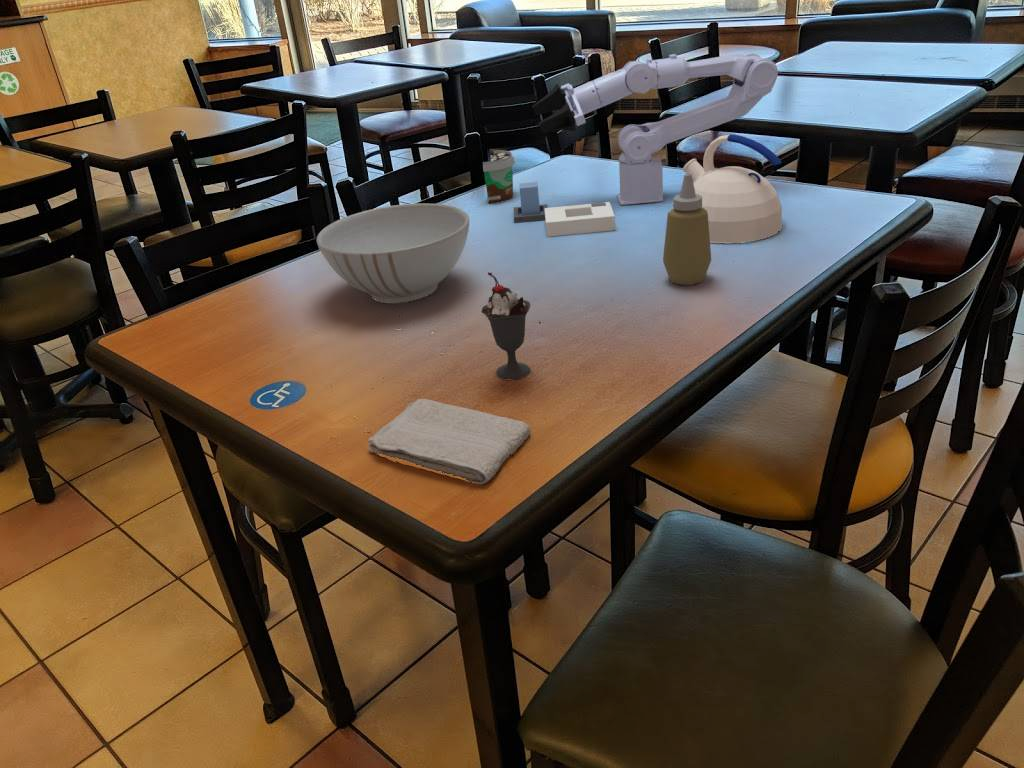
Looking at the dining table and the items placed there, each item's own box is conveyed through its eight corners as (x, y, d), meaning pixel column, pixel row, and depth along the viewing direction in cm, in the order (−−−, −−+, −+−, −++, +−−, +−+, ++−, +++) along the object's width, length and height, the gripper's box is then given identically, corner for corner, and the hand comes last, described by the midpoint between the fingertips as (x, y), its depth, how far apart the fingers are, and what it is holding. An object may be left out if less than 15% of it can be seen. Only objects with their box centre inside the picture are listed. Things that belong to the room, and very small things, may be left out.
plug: (539, 212, 176) (537, 181, 172) (540, 218, 172) (537, 186, 169) (522, 214, 176) (519, 183, 173) (522, 219, 173) (519, 188, 169)
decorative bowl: (356, 335, 128) (341, 266, 122) (314, 287, 149) (299, 225, 143) (502, 293, 137) (494, 226, 131) (442, 253, 159) (434, 194, 153)
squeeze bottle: (713, 271, 136) (716, 168, 128) (707, 289, 130) (710, 181, 121) (666, 269, 139) (666, 168, 130) (659, 287, 133) (658, 182, 124)
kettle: (711, 206, 168) (714, 119, 160) (802, 220, 155) (810, 127, 146) (654, 233, 157) (654, 141, 148) (747, 252, 143) (752, 152, 134)
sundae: (488, 364, 114) (475, 267, 107) (533, 358, 115) (524, 261, 107) (491, 386, 109) (478, 285, 101) (539, 379, 109) (529, 279, 101)
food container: (512, 204, 183) (508, 161, 178) (487, 205, 185) (482, 162, 180) (522, 189, 194) (518, 148, 189) (498, 190, 195) (493, 149, 190)
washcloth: (417, 411, 106) (413, 391, 104) (535, 436, 97) (533, 415, 96) (363, 459, 97) (358, 438, 95) (488, 491, 89) (485, 468, 87)
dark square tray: (547, 209, 177) (547, 204, 177) (548, 219, 171) (548, 214, 170) (514, 212, 178) (513, 207, 177) (514, 222, 171) (513, 217, 170)
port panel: (610, 215, 169) (609, 201, 167) (615, 230, 160) (614, 215, 159) (545, 221, 170) (544, 207, 168) (547, 236, 161) (545, 221, 159)
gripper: (584, 62, 168) (525, 87, 170) (599, 93, 158) (537, 119, 160) (592, 91, 173) (535, 115, 175) (608, 122, 163) (547, 148, 165)
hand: (536, 119), depth 168 cm, fingers open, 7 cm apart
